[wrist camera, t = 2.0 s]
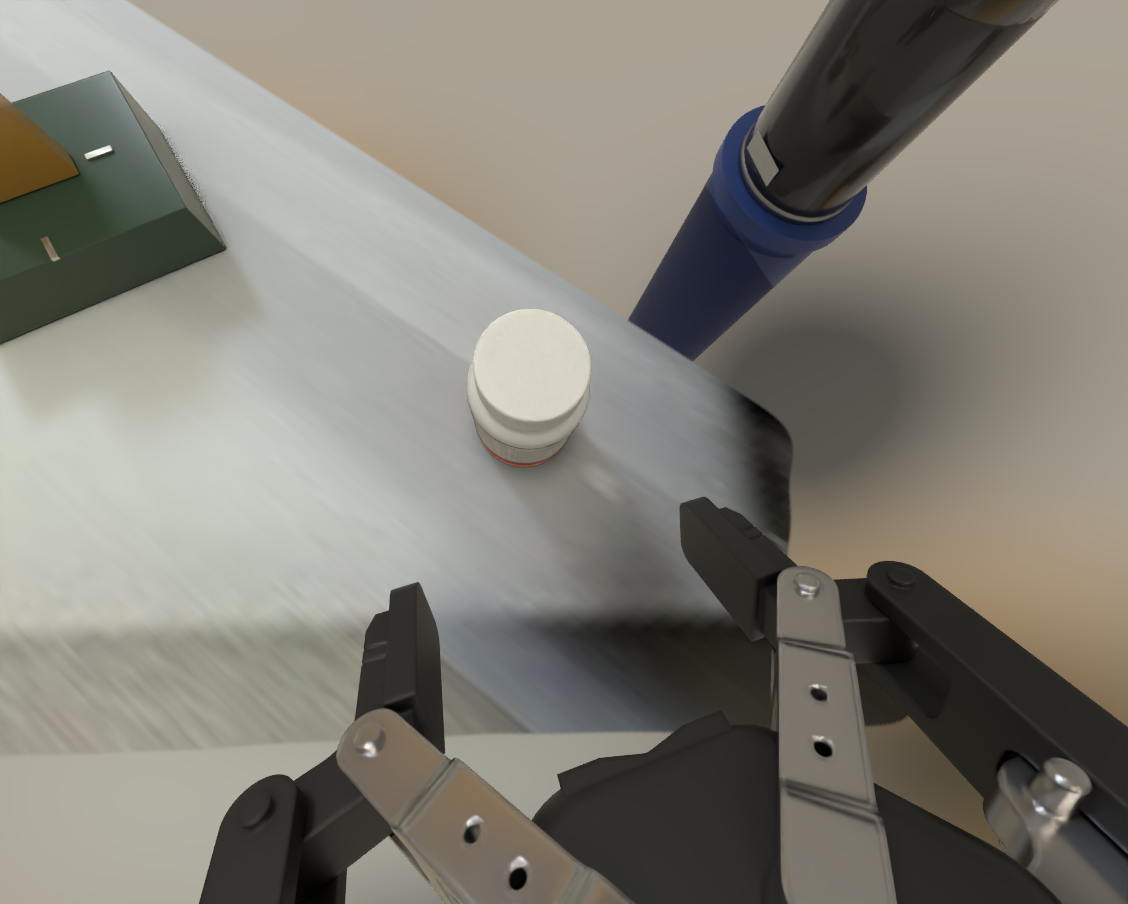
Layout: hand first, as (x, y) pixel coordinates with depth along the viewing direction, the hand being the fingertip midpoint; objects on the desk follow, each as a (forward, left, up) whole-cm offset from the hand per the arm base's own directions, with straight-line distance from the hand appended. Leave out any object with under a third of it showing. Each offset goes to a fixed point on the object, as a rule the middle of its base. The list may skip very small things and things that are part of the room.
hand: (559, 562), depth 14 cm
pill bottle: (-4, -7, -16) cm, 18 cm away
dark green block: (+14, -32, -16) cm, 38 cm away
